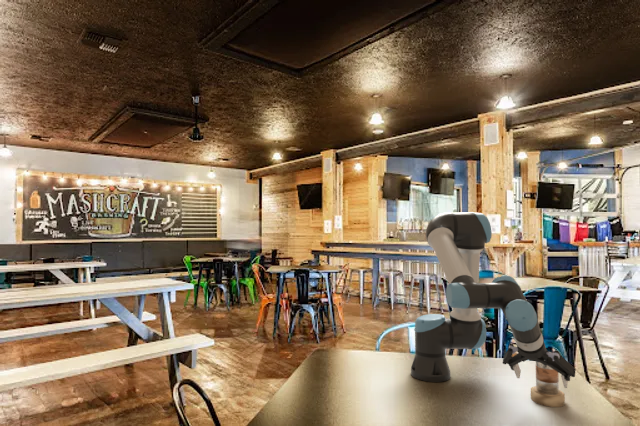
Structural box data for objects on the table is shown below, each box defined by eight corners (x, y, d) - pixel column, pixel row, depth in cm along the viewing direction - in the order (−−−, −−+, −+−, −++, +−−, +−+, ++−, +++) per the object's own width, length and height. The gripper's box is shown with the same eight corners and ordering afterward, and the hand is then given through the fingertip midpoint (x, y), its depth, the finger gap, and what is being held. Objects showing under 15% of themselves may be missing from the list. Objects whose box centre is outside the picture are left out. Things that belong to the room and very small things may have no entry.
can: (533, 391, 139) (533, 354, 139) (538, 385, 144) (537, 349, 144) (556, 396, 134) (555, 358, 135) (560, 390, 140) (559, 353, 140)
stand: (527, 401, 138) (527, 391, 139) (534, 392, 146) (534, 383, 146) (561, 409, 132) (561, 399, 132) (567, 399, 140) (567, 390, 140)
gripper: (483, 344, 128) (498, 381, 139) (577, 360, 112) (586, 399, 123) (488, 324, 132) (503, 361, 143) (580, 336, 116) (588, 376, 127)
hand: (541, 379), depth 133 cm, fingers open, 13 cm apart
